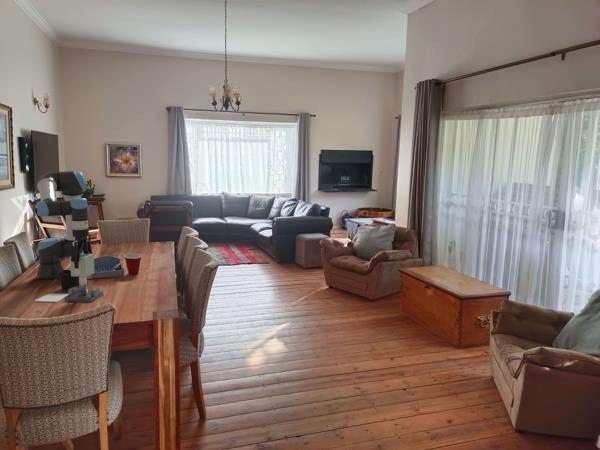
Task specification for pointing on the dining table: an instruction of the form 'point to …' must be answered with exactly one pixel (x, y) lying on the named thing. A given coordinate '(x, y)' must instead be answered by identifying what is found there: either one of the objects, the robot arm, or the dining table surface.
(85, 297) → the block with threaded rod
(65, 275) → the pen holder
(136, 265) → the plastic cup
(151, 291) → the dining table surface
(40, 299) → the mat
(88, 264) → the sleeve
